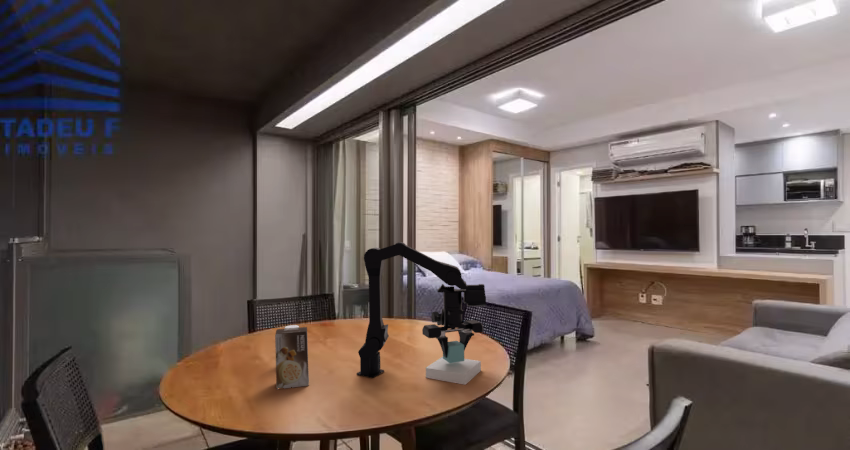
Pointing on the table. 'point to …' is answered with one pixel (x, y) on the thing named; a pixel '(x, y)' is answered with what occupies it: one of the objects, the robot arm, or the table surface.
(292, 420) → the table surface
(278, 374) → the coffee box
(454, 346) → the teal block
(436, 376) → the grey base
